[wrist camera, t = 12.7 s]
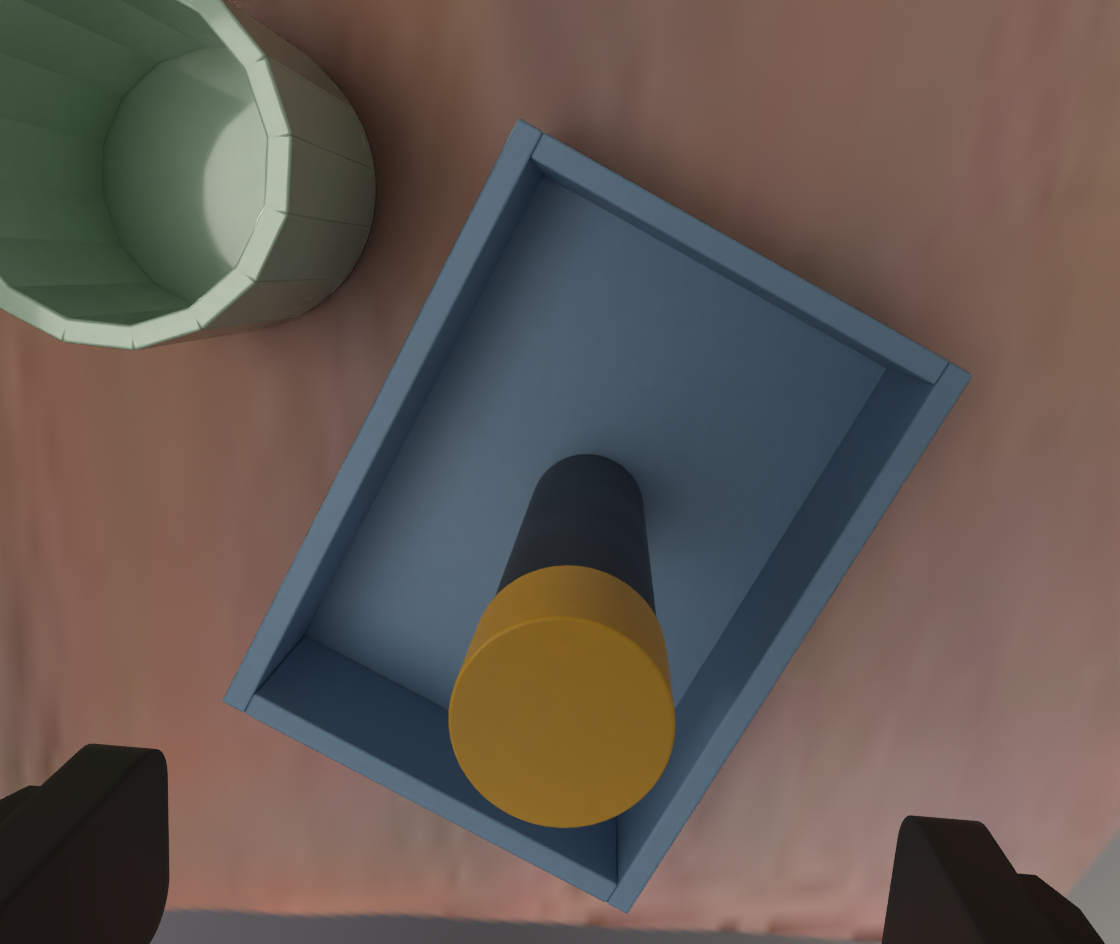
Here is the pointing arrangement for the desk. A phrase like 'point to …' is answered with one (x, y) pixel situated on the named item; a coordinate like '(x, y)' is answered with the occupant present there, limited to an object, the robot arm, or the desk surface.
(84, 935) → the robot arm
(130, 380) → the desk surface
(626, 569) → the marker
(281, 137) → the pen cup
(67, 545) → the desk surface
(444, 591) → the desk tray
